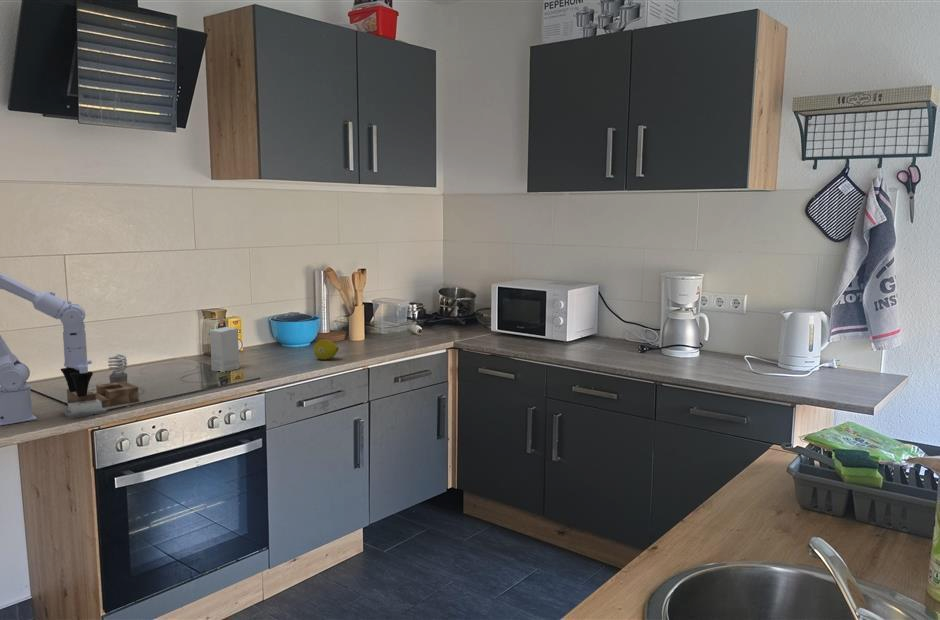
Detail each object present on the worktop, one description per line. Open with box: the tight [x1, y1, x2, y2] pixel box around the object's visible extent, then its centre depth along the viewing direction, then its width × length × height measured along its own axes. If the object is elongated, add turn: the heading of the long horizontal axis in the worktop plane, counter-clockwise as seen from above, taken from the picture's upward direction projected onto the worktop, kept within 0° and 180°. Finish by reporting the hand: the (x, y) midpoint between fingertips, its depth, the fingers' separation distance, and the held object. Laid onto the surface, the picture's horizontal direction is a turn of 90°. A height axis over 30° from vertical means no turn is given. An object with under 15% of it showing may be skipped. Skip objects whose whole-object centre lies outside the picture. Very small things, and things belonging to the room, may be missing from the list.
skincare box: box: [209, 326, 240, 373], centre depth 276 cm, size 8×7×16 cm
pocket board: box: [66, 381, 140, 408], centre depth 229 cm, size 17×12×4 cm
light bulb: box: [107, 353, 128, 383], centre depth 244 cm, size 6×6×12 cm
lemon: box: [313, 339, 339, 361], centre depth 297 cm, size 11×8×8 cm
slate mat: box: [62, 407, 108, 420], centre depth 217 cm, size 10×6×1 cm, turn 133°
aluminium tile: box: [67, 399, 102, 414], centre depth 216 cm, size 8×4×2 cm, turn 131°
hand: (78, 394), depth 215 cm, fingers open, 7 cm apart
